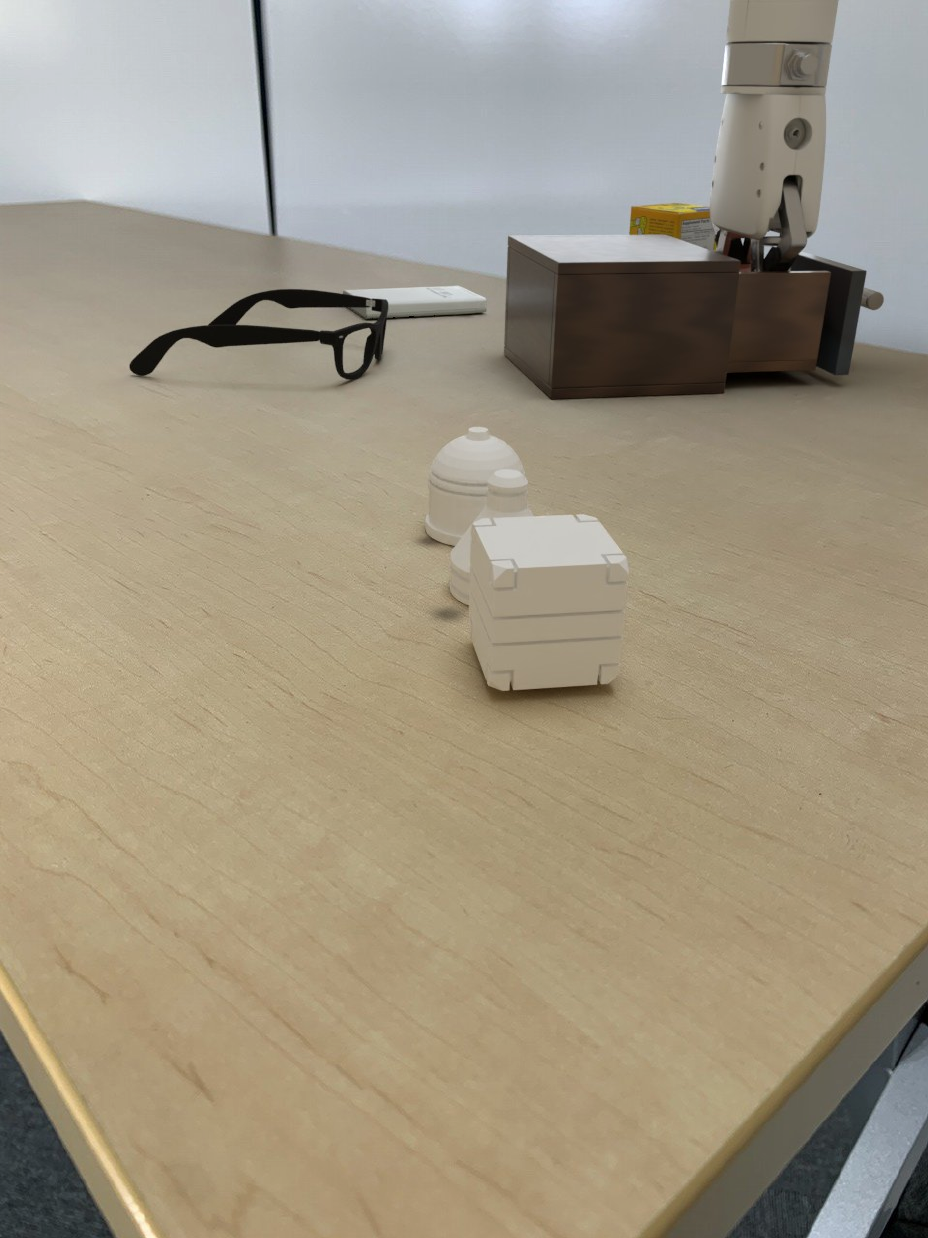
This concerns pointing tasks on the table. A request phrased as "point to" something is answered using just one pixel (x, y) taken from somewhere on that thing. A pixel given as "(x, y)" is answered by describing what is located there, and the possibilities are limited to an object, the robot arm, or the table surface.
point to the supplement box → (675, 223)
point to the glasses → (276, 329)
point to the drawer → (799, 317)
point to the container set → (526, 572)
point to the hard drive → (422, 301)
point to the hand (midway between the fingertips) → (744, 322)
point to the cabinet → (619, 314)
